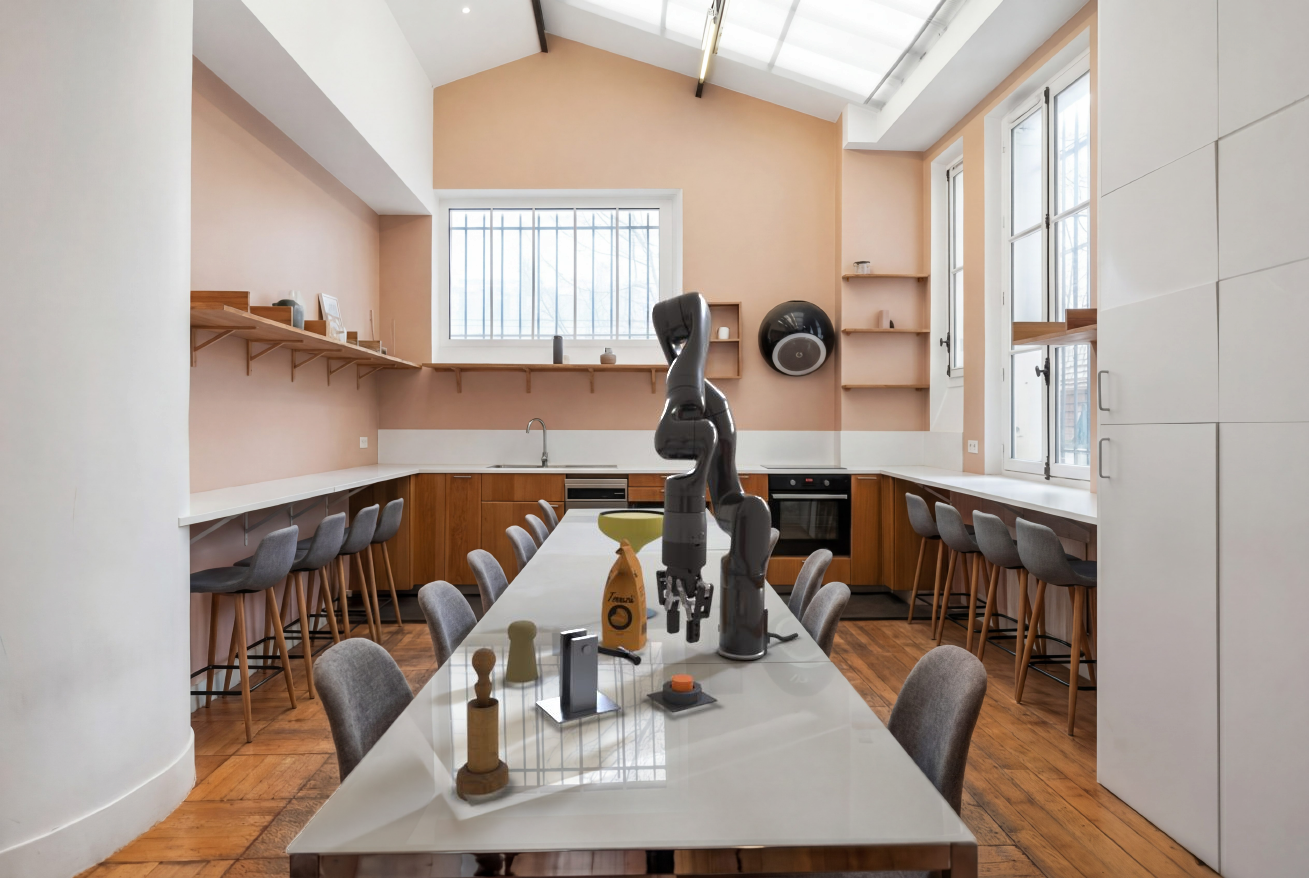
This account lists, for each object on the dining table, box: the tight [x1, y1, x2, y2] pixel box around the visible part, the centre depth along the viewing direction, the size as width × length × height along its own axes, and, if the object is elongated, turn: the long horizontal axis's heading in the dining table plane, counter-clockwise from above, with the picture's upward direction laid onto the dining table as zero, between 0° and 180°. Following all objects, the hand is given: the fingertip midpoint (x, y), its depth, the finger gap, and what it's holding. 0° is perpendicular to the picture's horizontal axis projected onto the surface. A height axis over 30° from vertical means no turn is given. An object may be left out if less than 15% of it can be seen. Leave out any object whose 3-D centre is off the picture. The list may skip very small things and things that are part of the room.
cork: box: [505, 619, 538, 684], centre depth 125 cm, size 6×6×11 cm
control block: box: [646, 680, 718, 713], centre depth 116 cm, size 9×8×3 cm
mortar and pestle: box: [455, 647, 510, 802], centre depth 88 cm, size 7×6×18 cm
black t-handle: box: [567, 635, 642, 667], centre depth 114 cm, size 12×6×2 cm, turn 123°
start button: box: [671, 673, 694, 691], centre depth 116 cm, size 4×4×2 cm
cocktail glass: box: [597, 509, 664, 619], centre depth 171 cm, size 18×18×25 cm
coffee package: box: [600, 539, 648, 652], centre depth 145 cm, size 10×12×22 cm
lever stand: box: [535, 628, 622, 724], centre depth 112 cm, size 11×9×13 cm
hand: (682, 636), depth 116 cm, fingers open, 5 cm apart
